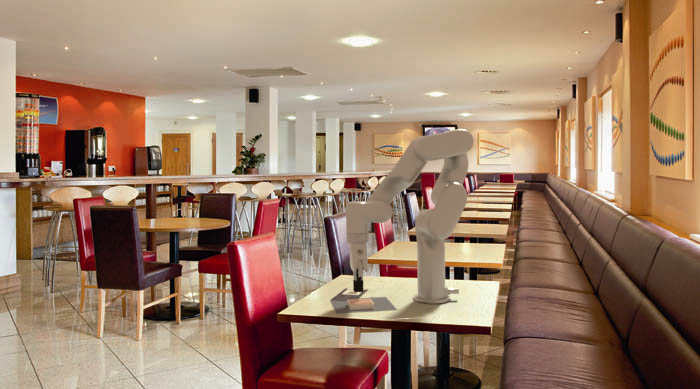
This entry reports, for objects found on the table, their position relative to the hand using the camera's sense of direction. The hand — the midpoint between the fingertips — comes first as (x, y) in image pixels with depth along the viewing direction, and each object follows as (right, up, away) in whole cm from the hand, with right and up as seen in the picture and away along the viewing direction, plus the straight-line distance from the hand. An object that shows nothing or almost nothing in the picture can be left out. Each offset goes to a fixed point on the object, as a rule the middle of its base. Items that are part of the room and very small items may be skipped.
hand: (358, 291), depth 190 cm
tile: (0, -3, 0) cm, 3 cm away
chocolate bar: (-3, -5, +13) cm, 14 cm away
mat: (+1, -5, -1) cm, 5 cm away
